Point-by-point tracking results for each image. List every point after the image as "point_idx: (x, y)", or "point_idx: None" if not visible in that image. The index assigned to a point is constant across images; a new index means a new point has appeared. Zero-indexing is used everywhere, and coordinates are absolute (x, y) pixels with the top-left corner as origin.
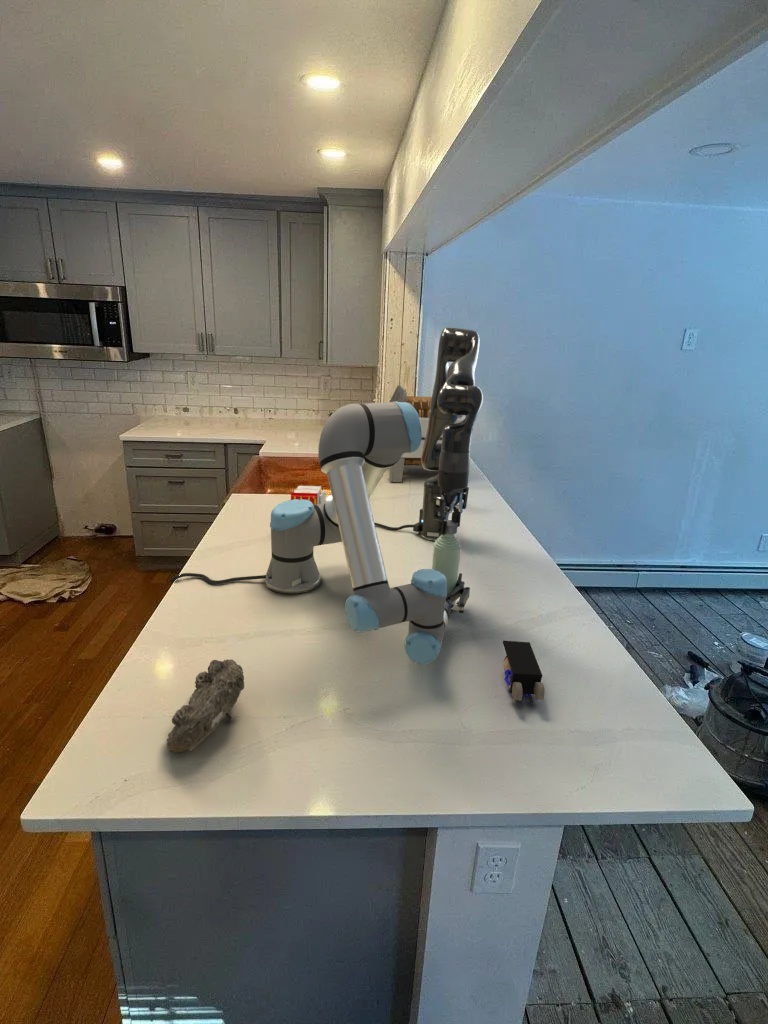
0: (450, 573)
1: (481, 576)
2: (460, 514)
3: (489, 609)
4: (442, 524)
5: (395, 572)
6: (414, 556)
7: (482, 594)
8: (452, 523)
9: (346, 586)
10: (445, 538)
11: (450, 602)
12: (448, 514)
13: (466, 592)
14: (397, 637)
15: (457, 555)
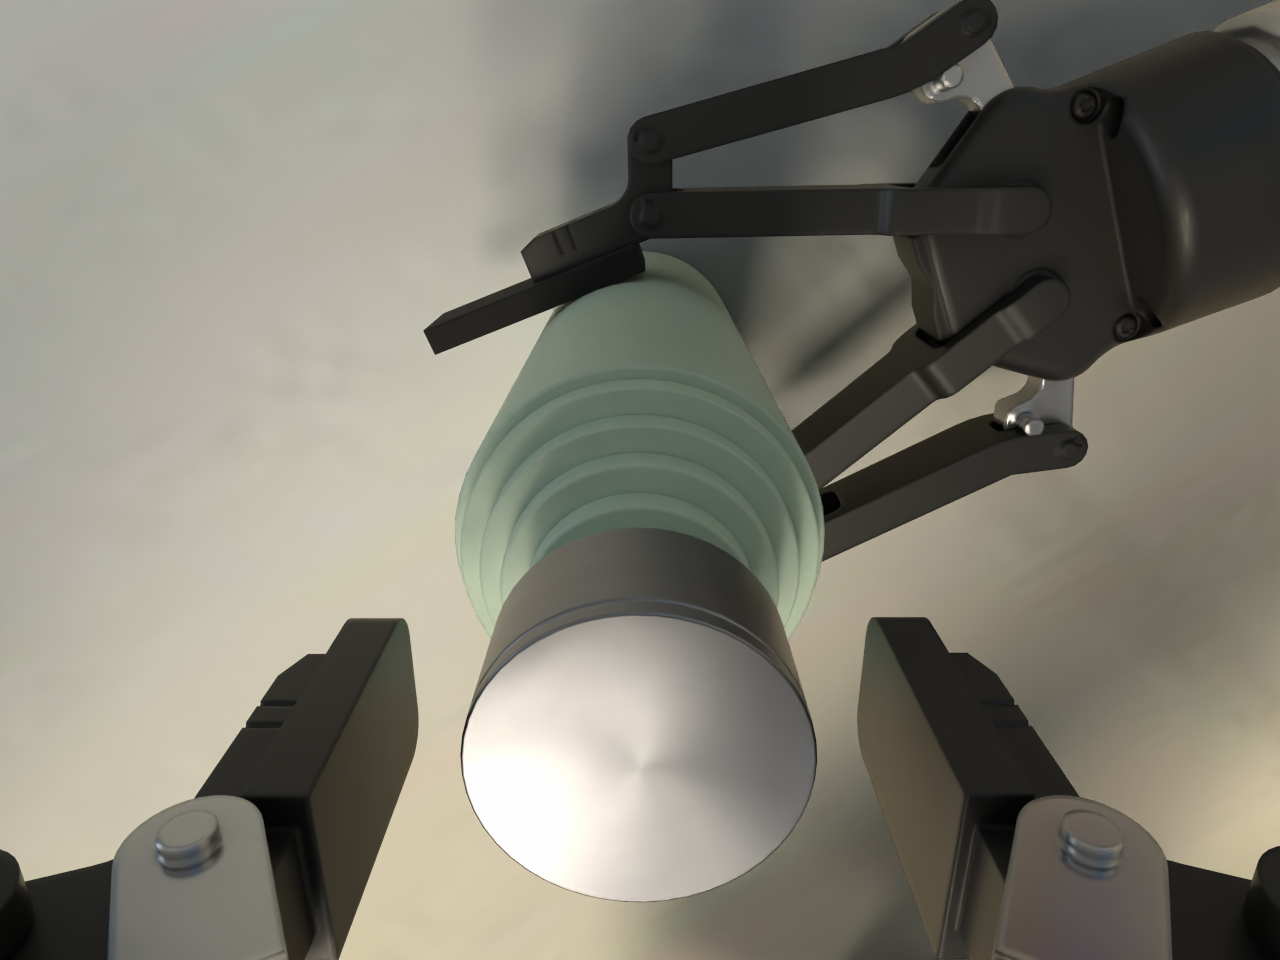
0: (726, 330)
1: (24, 336)
2: (268, 785)
3: (444, 19)
4: (1063, 793)
5: (455, 787)
6: None
7: (273, 186)
8: (625, 710)
9: (800, 877)
10: None
11: (1005, 131)
12: (1042, 944)
13: (743, 102)
14: (1177, 355)
15: (665, 343)
